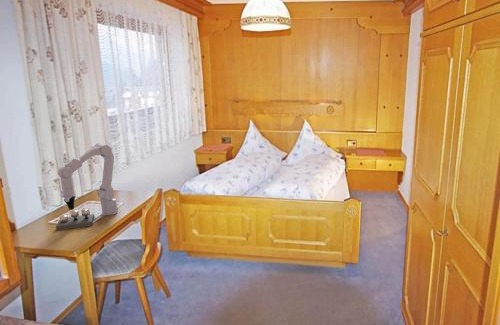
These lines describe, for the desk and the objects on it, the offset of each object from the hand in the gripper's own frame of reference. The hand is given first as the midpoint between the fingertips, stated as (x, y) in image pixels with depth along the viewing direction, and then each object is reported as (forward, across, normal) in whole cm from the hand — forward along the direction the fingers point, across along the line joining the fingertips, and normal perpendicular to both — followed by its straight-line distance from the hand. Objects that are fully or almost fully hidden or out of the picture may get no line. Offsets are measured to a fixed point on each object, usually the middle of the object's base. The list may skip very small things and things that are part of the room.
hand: (71, 209), depth 219 cm
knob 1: (+9, 0, -5) cm, 10 cm away
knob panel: (+9, 0, +1) cm, 9 cm away
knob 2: (+7, 0, +7) cm, 10 cm away
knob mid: (+7, 0, +1) cm, 7 cm away
